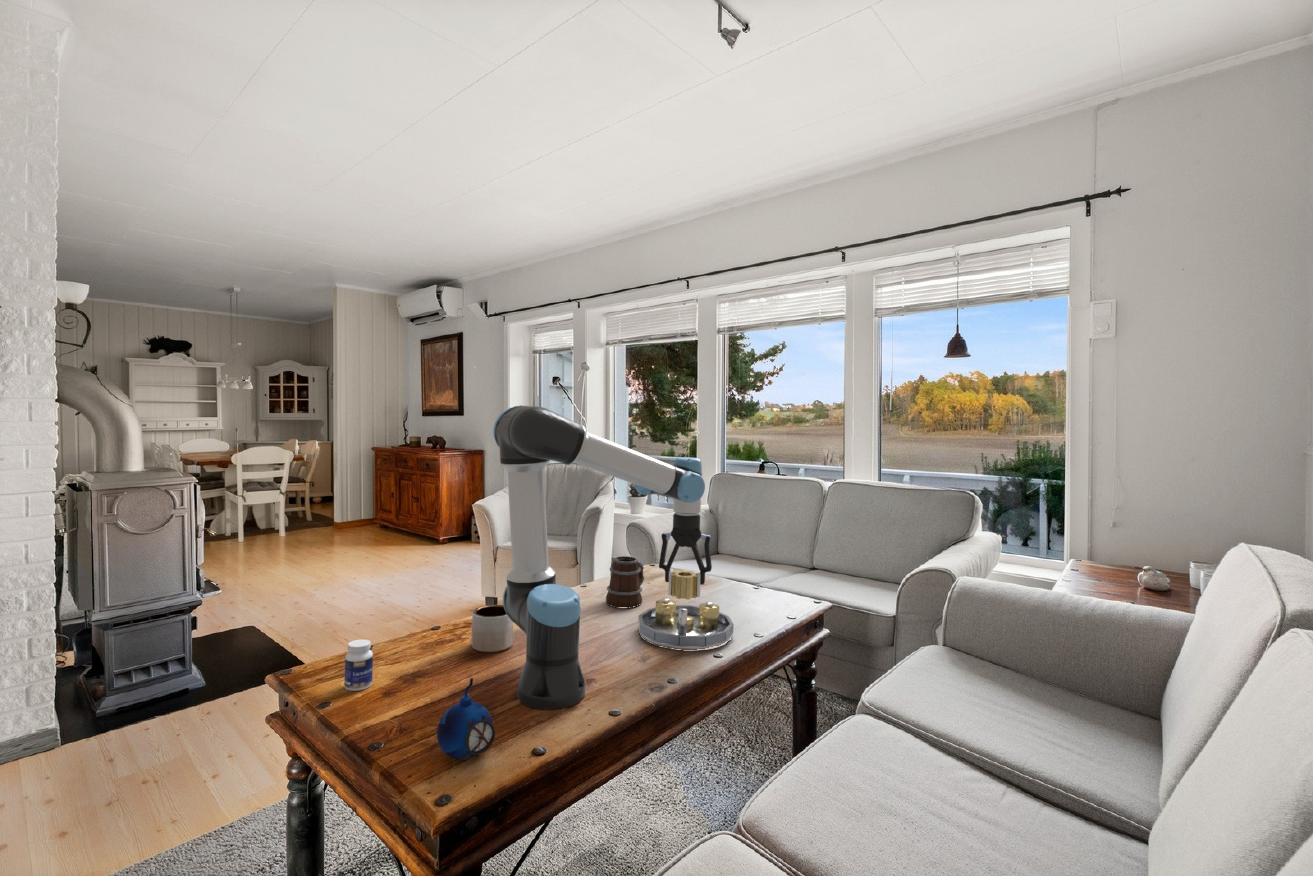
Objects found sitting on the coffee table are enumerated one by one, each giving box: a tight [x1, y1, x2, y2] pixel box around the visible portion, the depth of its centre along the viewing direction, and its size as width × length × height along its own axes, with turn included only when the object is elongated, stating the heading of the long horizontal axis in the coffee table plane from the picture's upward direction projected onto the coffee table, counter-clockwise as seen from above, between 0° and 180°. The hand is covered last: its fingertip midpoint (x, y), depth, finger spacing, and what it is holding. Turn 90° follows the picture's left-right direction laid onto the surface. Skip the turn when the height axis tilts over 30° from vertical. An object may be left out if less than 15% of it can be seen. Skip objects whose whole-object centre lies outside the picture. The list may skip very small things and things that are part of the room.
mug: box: [605, 555, 645, 609], centre depth 208 cm, size 16×12×15 cm
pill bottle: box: [343, 639, 374, 692], centre depth 140 cm, size 6×6×10 cm
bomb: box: [436, 677, 497, 761], centre depth 113 cm, size 10×11×15 cm
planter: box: [470, 604, 514, 654], centre depth 166 cm, size 11×11×10 cm
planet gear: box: [670, 570, 698, 601], centre depth 173 cm, size 7×7×6 cm
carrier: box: [637, 597, 734, 650], centre depth 180 cm, size 27×27×10 cm
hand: (684, 594), depth 173 cm, fingers closed on planet gear, 7 cm apart
